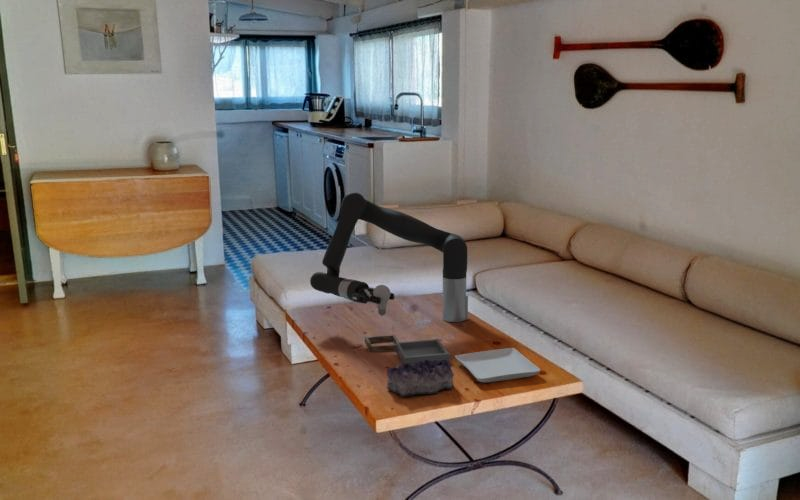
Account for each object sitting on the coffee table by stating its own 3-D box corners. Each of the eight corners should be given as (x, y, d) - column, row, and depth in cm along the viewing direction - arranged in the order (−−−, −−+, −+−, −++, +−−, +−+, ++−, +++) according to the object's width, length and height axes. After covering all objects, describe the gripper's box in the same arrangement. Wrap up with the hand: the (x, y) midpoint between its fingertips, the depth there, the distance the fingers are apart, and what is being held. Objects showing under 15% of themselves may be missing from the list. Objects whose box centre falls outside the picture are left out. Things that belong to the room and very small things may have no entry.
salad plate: (477, 388, 211) (477, 378, 210) (453, 364, 231) (453, 354, 230) (542, 380, 217) (542, 369, 216) (513, 356, 237) (513, 347, 236)
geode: (444, 377, 220) (446, 348, 216) (458, 396, 209) (461, 366, 206) (382, 384, 213) (384, 354, 210) (394, 404, 203) (396, 373, 199)
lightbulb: (390, 318, 243) (390, 287, 240) (372, 318, 243) (372, 287, 241) (391, 312, 249) (390, 282, 246) (374, 312, 249) (373, 282, 247)
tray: (438, 347, 246) (437, 339, 245) (449, 362, 231) (449, 353, 231) (395, 350, 243) (395, 342, 242) (405, 366, 228) (405, 357, 228)
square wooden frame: (394, 339, 255) (394, 334, 254) (401, 349, 244) (400, 344, 244) (364, 341, 252) (364, 336, 252) (369, 352, 242) (369, 347, 242)
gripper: (338, 284, 248) (371, 292, 237) (367, 276, 258) (401, 284, 247) (339, 304, 250) (372, 314, 239) (368, 296, 260) (401, 304, 249)
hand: (386, 298), depth 243 cm, fingers closed on lightbulb, 6 cm apart
